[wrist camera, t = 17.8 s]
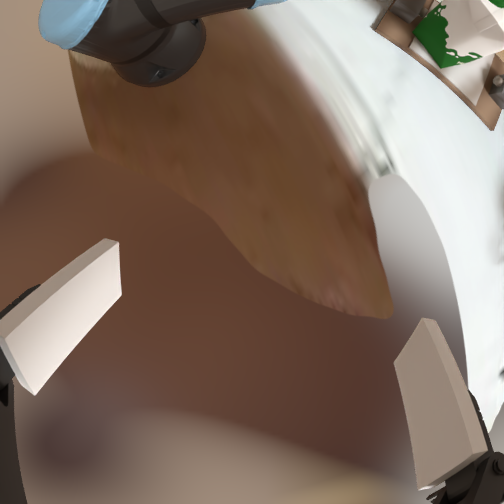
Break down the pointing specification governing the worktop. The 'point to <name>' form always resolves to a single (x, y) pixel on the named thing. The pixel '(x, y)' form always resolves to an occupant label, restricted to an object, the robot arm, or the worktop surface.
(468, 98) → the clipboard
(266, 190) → the worktop surface
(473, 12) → the soya milk
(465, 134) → the worktop surface
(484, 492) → the robot arm
